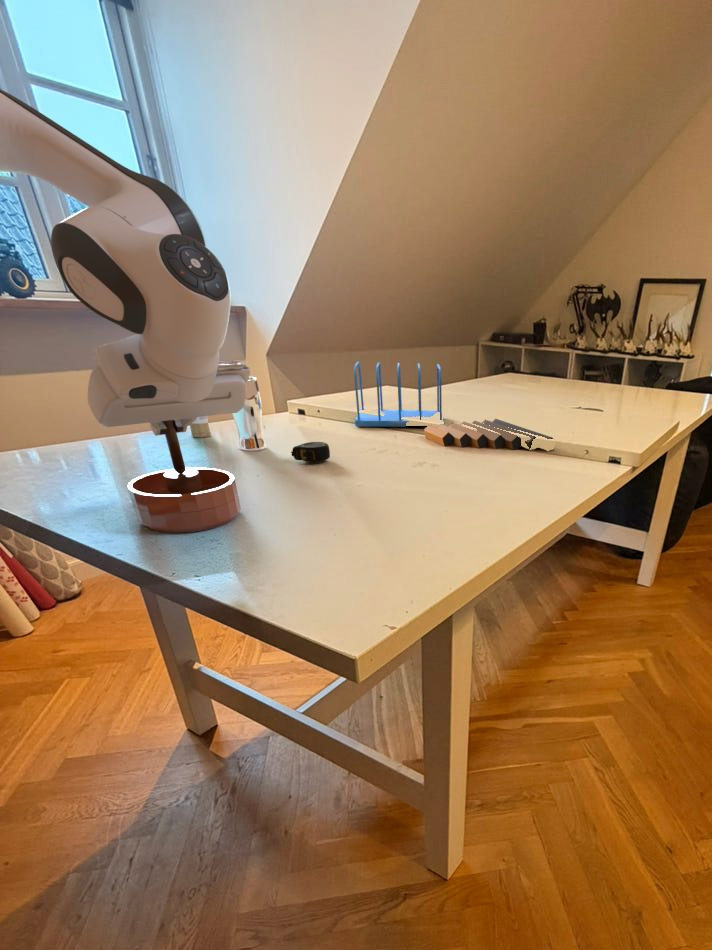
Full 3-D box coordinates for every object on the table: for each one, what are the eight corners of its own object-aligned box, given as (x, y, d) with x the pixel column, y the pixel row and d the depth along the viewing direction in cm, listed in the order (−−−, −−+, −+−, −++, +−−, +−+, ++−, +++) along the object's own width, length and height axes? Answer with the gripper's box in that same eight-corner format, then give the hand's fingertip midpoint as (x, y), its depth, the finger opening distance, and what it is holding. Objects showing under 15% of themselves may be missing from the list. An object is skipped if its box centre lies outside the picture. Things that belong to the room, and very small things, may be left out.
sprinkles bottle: (206, 433, 138) (193, 375, 131) (214, 436, 136) (202, 377, 128) (188, 435, 135) (174, 376, 128) (196, 438, 133) (182, 378, 125)
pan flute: (555, 450, 138) (500, 430, 155) (557, 436, 136) (500, 418, 153) (474, 461, 126) (423, 438, 143) (474, 446, 124) (423, 424, 141)
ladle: (168, 494, 84) (135, 378, 75) (167, 485, 87) (136, 373, 78) (203, 491, 86) (175, 377, 77) (200, 482, 89) (174, 373, 80)
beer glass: (250, 443, 131) (238, 375, 123) (274, 446, 130) (264, 377, 122) (230, 449, 126) (216, 378, 118) (255, 452, 124) (242, 381, 116)
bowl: (139, 540, 80) (126, 501, 77) (139, 508, 91) (128, 472, 88) (247, 526, 87) (240, 489, 83) (235, 498, 98) (228, 464, 94)
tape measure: (312, 456, 124) (310, 439, 122) (337, 460, 122) (335, 443, 120) (292, 462, 119) (289, 445, 117) (317, 467, 116) (315, 449, 114)
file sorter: (441, 417, 168) (441, 362, 160) (444, 429, 154) (445, 369, 145) (360, 415, 165) (355, 359, 157) (355, 427, 151) (350, 366, 142)
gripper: (241, 342, 78) (224, 405, 89) (80, 347, 65) (82, 419, 76) (263, 380, 78) (243, 438, 89) (105, 392, 65) (104, 458, 76)
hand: (168, 430), depth 82 cm, fingers closed on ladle
